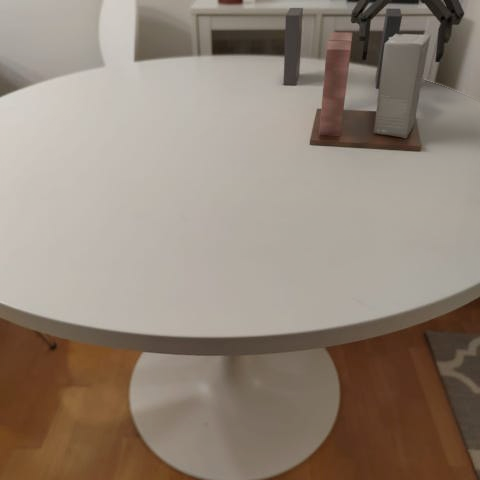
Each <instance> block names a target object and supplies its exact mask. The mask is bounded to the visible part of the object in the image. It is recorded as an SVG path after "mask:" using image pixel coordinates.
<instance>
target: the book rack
mask: <svg viewBox="0 0 480 480" xmlns="http://www.w3.org/2000/svg"><path fill="white" fill-rule="evenodd" d="M329 34H330V35H329V38H328V41H327V45H326V52H325V62H324V63H325V64H324V73H323V84H322V85H323V86H322V97H321V107H320V108H316V110H315V111H316V112H315V116H314V120H313V125H312V129H311V133H310V138H309V145H311V146H324V147H325V146H326V147H327V146H328V147H341V148H343V147H344V148H359V149H375V150H377V149H378V150H392V151H393V150H395V151H411V152H421V151H422V142H421V136H420V131H419V126H418V120H417V117H416V118H415V123H414V126H413V128H412V130H411V132H410V133H409V135H408V136H407V138H402V137H397V136H391V135H384V134H377V133H374V126H375V118H376V110H361V109H359V110H358V109H345V101H346V94H347V93H346V92H347V84H348V76H349V67H350V59H351V53H352V52H351V51H352V42H353V32H347V31H346V32H341V31H339V32H336V31H335V32H333V31H330V33H329Z"/></svg>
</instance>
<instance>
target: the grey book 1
mask: <svg viewBox="0 0 480 480" xmlns="http://www.w3.org/2000/svg"><path fill="white" fill-rule="evenodd" d="M303 11H304V7H289V9H288V11H287V13H286V14H285V23H284V24H285V25H284V32H285V33H284V56H283V86H296V85H297V82H298V80H299V77H300V71H301V53H302V35H303V32H302V31H303V13H304V12H303Z"/></svg>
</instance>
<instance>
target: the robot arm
mask: <svg viewBox="0 0 480 480" xmlns="http://www.w3.org/2000/svg"><path fill="white" fill-rule="evenodd" d="M393 1H394V0H375V1H373V2H372V3H371V5H369V4H370V2H371V0H358V2H357V3H356V5H355V6H354V7H353V9H352V11H351V15H350V23H351V24H357V25H358V26H359V29H358V30H359V31H358V36H357V39H358V42H363V45H362V54H361V61H366V60H367V56H368V51H369V50H368V49H369V41H370V32H371V24H372V23H371V22H372V20H374V18H375V17H376V16H377V15H378V14H379V13H380V12H381V11H383V9H385V7H387V5H388V4H391V3H392V2H393ZM419 2H420V3H422V4H424V5H425V6H426V7H427V9H428V10H429V12H431V13H432V15H433V16H434V17H435V18H436V20H437V21H438V22H439V23H440V24H439V27H438V31H437V42H436V49H435V50H436V52H435V61H434V62H435V63H440V62H441V60H442V57H443V56H444V51H445V44H448V43H449V41H450V39H451V37H452V30H453V26H454V25H455V26H458V25H460V24H461V22H462V20H463V17H464V16H465V11H464V8H463V7H462V5H461V2H460V0H443V1H442V0H419ZM368 5H369V6H368ZM366 8H367V9H366Z"/></svg>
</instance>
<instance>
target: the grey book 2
mask: <svg viewBox="0 0 480 480" xmlns="http://www.w3.org/2000/svg"><path fill="white" fill-rule="evenodd" d="M402 19H403V16H402V10H401V8H386V9H385V16H384V22H383V28H382V33H381V34H382V35H381V39H380V40H381V41H380V48H379V53H378V54H379V55H378V59H377V66H376V72H375V89H376V90H377V89H378V90H379V86H380V77H381V69H382V61H383V53H384V45H385V43H386V42H387V41H388V40H389V37H393V36H394V35H395V34H400V30H401V24H402Z"/></svg>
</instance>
